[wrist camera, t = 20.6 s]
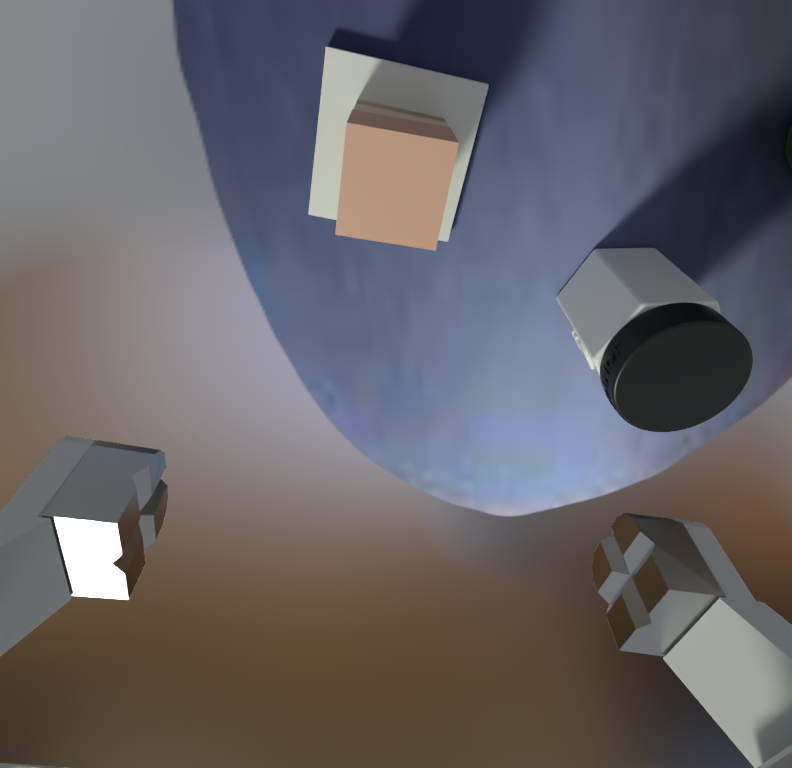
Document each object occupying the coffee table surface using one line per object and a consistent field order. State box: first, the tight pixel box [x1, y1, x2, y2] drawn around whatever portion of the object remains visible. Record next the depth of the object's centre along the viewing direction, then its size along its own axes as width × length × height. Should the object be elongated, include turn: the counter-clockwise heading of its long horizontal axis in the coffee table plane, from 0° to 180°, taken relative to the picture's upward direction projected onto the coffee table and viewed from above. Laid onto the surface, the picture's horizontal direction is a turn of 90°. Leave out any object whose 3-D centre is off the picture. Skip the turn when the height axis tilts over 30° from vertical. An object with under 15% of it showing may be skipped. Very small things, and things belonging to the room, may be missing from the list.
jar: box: [556, 248, 753, 432], centre depth 36 cm, size 9×8×12 cm
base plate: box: [308, 46, 489, 242], centre depth 34 cm, size 10×10×1 cm
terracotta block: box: [335, 109, 459, 251], centre depth 29 cm, size 6×6×4 cm
